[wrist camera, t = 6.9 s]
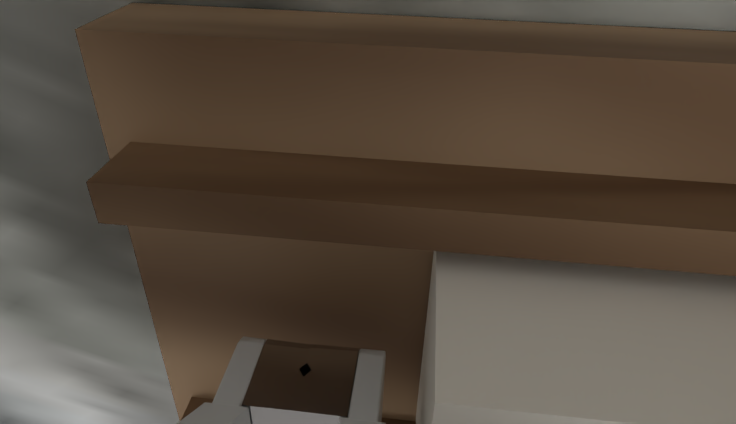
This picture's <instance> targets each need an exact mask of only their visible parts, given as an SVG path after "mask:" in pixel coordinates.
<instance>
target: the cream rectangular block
mask: <svg viewBox="0 0 736 424" xmlns="http://www.w3.org/2000/svg"><path fill="white" fill-rule="evenodd" d="M416 424H736V276H727V275H715V274H703V273H691V272H679V271H667V270H655V269H643V268H631V267H619V266H607V265H595V264H583V263H571V262H559V261H547V260H535V259H523V258H511V257H499V256H487V255H475V254H463V253H451V252H439V251H434V253H433V263H432V272H431V281H430V290H429V299H428V309H427V318H426V327H425V336H424V346H423V355H422V364H421V373H420V382H419V392H418V401H417V410H416Z"/></svg>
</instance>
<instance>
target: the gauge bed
mask: <svg viewBox="0 0 736 424" xmlns="http://www.w3.org/2000/svg"><path fill="white" fill-rule="evenodd" d="M75 32H76V36H77V39H78V43H79V47H80V51H81V54H82V58H83V62H84V66H85V69H86V73H87V77H88V80H89V84H90V88H91V92H92V95H93V99H94V103H95V107H96V110H97V114H98V118H99V121H100V125H101V129H102V133H103V136H104V140H105V144H106V148H107V151H108V155H109V159H110V161H109V162H108V163H106V164H105V165H104V166H103V167H102V168H101V169H100V170H99V171H98V172H97V173H95V174H94V175H93V176H92V177H91V178H90V179H89V180H88V181H87V182H86V183H87V187H88V190H89V193H90V197H91V200H92V203H93V207H94V210H95V213H96V217H97V220H98V223H103V224H115V225H127V226H128V230H129V233H130V237H131V241H132V244H133V248H134V252H135V256H136V259H137V263H138V267H139V271H140V274H141V278H142V282H143V285H144V289H145V293H146V297H147V300H148V304H149V308H150V312H151V315H152V319H153V323H154V326H155V330H156V334H157V338H158V341H159V345H160V349H161V353H162V356H163V360H164V364H165V367H166V371H167V375H168V379H169V382H170V386H171V390H172V394H173V397H174V401H175V405H176V408H177V412H178V416H179V420H180V421H181V420H182V419H183V418H185V417H186V416H187V415H189V414H190V413H191V412H193V411H194V410H195V409H197V408H198V407H199V406H201V405H202V404H203V403H204V402H207V403H212V402H213V400H214V397H215V395H216V393H217V390H218V388H219V386H220V383H221V381H222V378H223V376H224V374H225V371H226V369H227V367H228V364H229V362H230V360H231V357H232V355H233V353H234V350H235V348H236V346H237V343H238V342H239V341H240V339H241V338H242V337H243V336H245V337H253V338H261V339H272V340H280V341H287V342H295V343H303V344H317V345H328V346H339V347H351V348H360V349H370V350H380V351H386V361H385V377H384V393H383V408H382V421H381V422H384V423H386V424H416V410H417V401H418V392H419V382H420V373H421V364H422V355H423V346H424V336H425V327H426V318H427V309H428V299H429V290H430V281H431V272H432V263H433V253H434V251H439V252H451V253H463V254H475V255H487V256H499V257H511V258H523V259H535V260H547V261H559V262H571V263H583V264H595V265H607V266H619V267H631V268H643V269H655V270H667V271H679V272H691V273H703V274H715V275H727V276H736V32H730V31H710V30H689V29H668V28H647V27H627V26H606V25H585V24H564V23H544V22H523V21H502V20H482V19H461V18H440V17H419V16H399V15H378V14H357V13H336V12H316V11H295V10H274V9H253V8H233V7H212V6H191V5H171V4H150V3H130V4H128V5H126V6H124V7H122V8H120V9H117V10H115V11H113V12H111V13H109V14H107V15H105V16H102V17H100V18H98V19H96V20H94V21H92V22H90V23H87V24H85V25H83V26H81V27H79V28H77V29H75Z"/></svg>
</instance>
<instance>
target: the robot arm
mask: <svg viewBox="0 0 736 424" xmlns="http://www.w3.org/2000/svg"><path fill="white" fill-rule="evenodd" d="M385 361H386V351H380V350H370V349H360V348H351V347H339V346H328V345H317V344H303V343H295V342H287V341H280V340H272V339H261V338H253V337H245V336H243V337H242V338H241V339H240V341H239V342H238V343H237V346H236V348H235V350H234V353H233V355H232V357H231V360H230V362H229V364H228V367H227V369H226V371H225V374H224V376H223V378H222V381H221V383H220V386H219V388H218V390H217V393H216V395H215V397H214V400H213V402H212V403H207V402H204V403H203V404H202V405H201V406H199V407H198V408H197V409H195V410H194V411H193V412H191V413H190V414H189V415H187V416H186V417H185V418H183V419H182V420H181V421H179V422H178V423H177V424H386V423H384V422H381V421H382V408H383V393H384V377H385Z"/></svg>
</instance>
